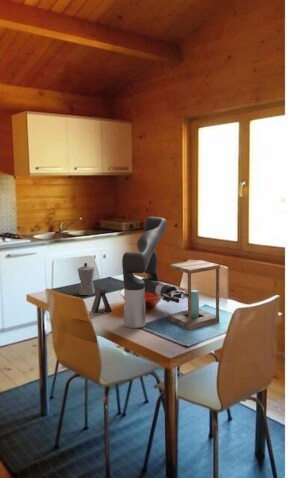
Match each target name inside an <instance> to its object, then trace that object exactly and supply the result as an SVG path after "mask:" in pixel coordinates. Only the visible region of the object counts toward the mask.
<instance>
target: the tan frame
mask: <svg viewBox="0 0 297 478" xmlns="http://www.w3.org/2000/svg"><path fill="white" fill-rule="evenodd" d="M169 265H170V266H169V267H170V269H172V270H175V271H179V272H183V273H185V274H187V291H188V298H187V310H182V311H178V312H173V313H170V314H168V315H167V316H168V320H169V321H170V322H173V323H175V324H176V325H179V326H180V327H183V328H185V329H187V330H189V331H191V330H195V329H199V328H203V327H206V326H210V325H214V324H218V323H220V269H221V264H218V263H214V262H210V261H205V260H202V259H198V260H197V259H196V260H191V261H183V262H177V263H172V264H169ZM214 270H215V314H214V313H211V312H209V311H206V310H204V309H201V308H199V318H196V319H191V290H192V274H197V273H202V272H208V271H214Z"/></svg>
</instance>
